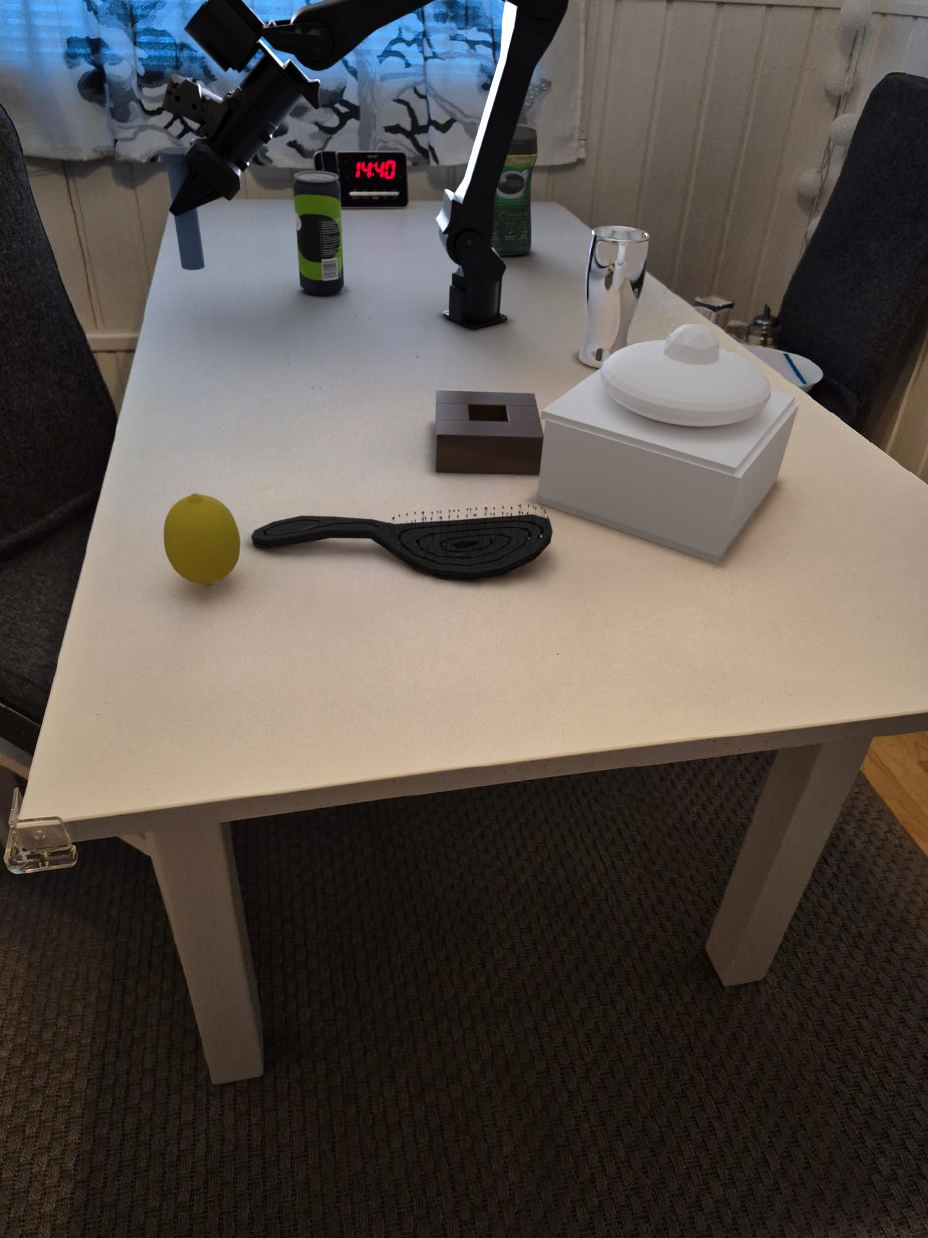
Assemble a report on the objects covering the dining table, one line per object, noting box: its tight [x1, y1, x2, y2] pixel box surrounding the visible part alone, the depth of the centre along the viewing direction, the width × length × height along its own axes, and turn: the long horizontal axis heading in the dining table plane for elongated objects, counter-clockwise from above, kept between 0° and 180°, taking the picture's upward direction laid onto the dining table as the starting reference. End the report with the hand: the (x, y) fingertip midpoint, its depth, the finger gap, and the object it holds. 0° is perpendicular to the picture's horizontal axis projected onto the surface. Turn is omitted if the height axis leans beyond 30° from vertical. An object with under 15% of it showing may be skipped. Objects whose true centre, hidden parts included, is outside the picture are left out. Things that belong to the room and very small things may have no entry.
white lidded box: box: [536, 323, 800, 564], centre depth 79 cm, size 18×18×16 cm
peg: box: [158, 146, 206, 271], centre depth 106 cm, size 4×4×13 cm
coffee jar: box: [491, 123, 539, 256], centre depth 141 cm, size 10×8×19 cm
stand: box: [434, 389, 544, 476], centre depth 88 cm, size 10×10×4 cm
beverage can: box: [292, 170, 345, 297], centre depth 122 cm, size 6×6×15 cm
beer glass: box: [578, 225, 651, 369], centre depth 105 cm, size 7×7×15 cm
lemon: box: [163, 492, 241, 586], centre depth 67 cm, size 6×6×8 cm
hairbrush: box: [250, 503, 554, 582], centre depth 73 cm, size 8×4×25 cm
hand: (173, 210), depth 105 cm, fingers closed on peg, 3 cm apart
